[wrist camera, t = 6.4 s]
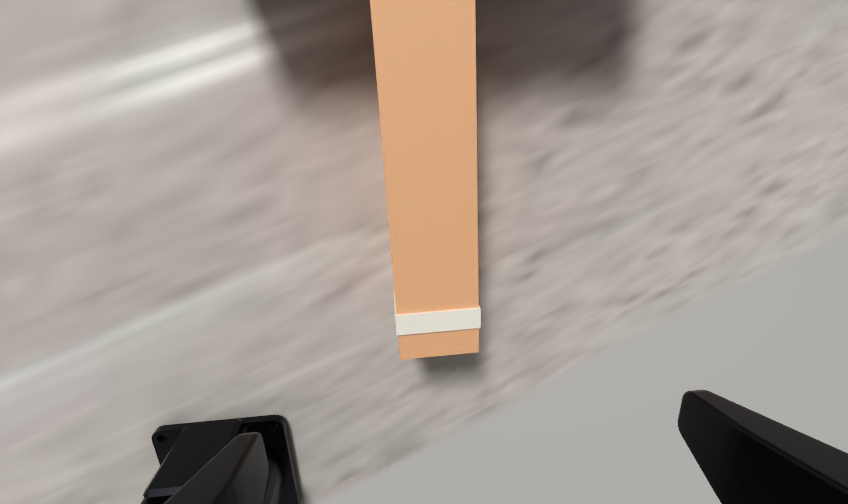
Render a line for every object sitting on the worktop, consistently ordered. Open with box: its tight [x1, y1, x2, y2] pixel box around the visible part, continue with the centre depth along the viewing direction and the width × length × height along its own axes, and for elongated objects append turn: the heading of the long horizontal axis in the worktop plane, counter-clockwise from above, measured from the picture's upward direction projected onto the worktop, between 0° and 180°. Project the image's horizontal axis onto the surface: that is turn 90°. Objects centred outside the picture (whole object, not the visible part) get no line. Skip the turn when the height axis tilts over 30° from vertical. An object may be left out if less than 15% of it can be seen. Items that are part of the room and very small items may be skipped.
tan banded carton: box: [370, 0, 481, 360], centre depth 16 cm, size 14×3×5 cm, turn 3°
